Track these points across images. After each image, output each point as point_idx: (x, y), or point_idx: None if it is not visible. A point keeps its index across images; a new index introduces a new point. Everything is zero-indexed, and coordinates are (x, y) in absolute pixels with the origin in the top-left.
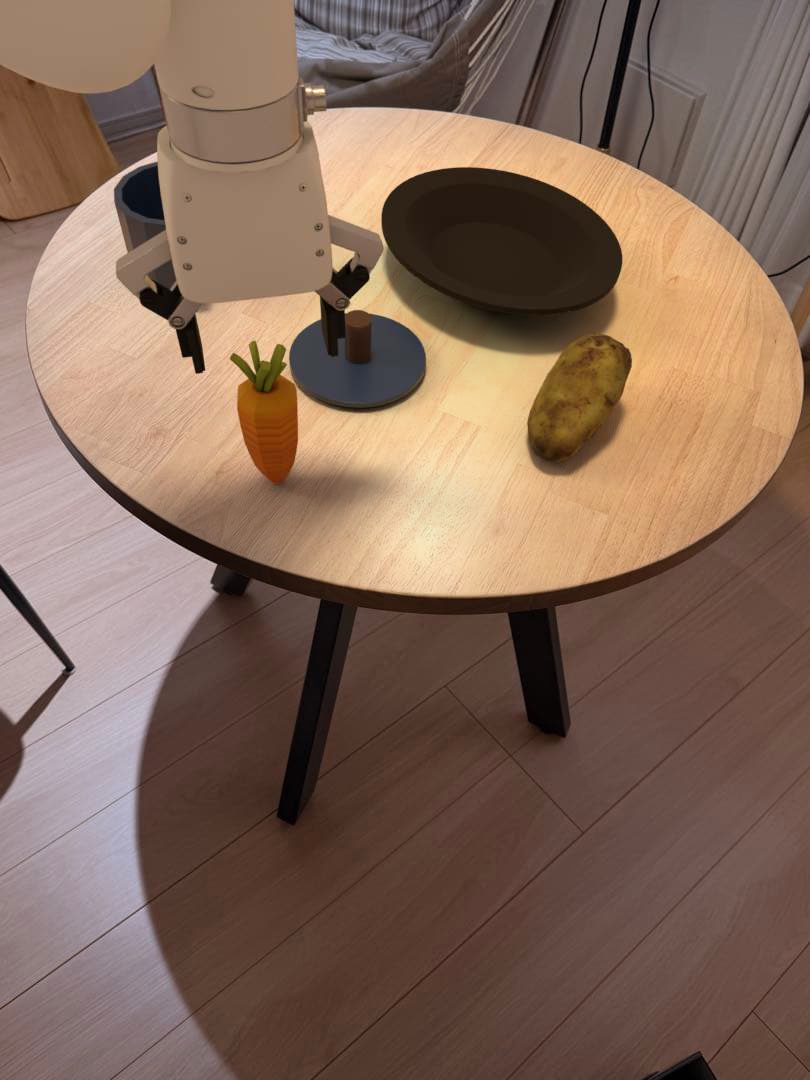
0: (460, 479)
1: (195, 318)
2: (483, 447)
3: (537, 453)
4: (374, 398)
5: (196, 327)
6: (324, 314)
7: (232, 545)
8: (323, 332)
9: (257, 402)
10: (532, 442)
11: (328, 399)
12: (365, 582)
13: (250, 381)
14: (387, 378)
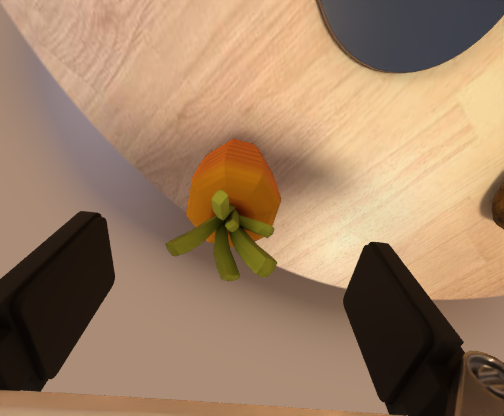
0: (407, 197)
1: (43, 328)
2: (456, 167)
3: (493, 212)
4: (396, 64)
5: (51, 360)
6: (383, 358)
7: (184, 207)
8: (363, 273)
9: (213, 240)
10: (501, 204)
11: (340, 42)
12: (278, 264)
13: (210, 202)
14: (437, 26)
